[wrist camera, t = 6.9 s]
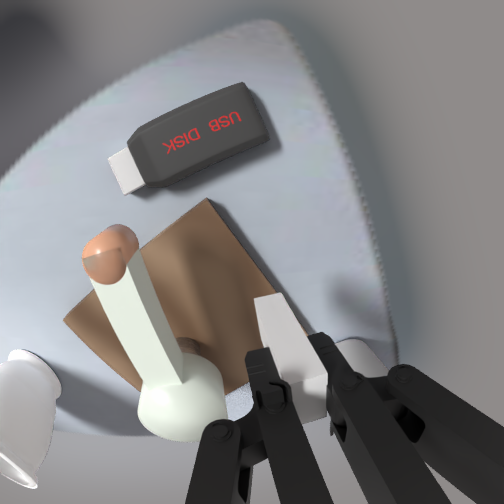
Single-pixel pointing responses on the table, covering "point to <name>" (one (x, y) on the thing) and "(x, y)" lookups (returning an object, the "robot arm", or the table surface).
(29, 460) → the jar
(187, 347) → the stud
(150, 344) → the tan-tipped lever stick
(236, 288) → the base plate
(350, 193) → the table surface
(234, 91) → the usb drive
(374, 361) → the can
